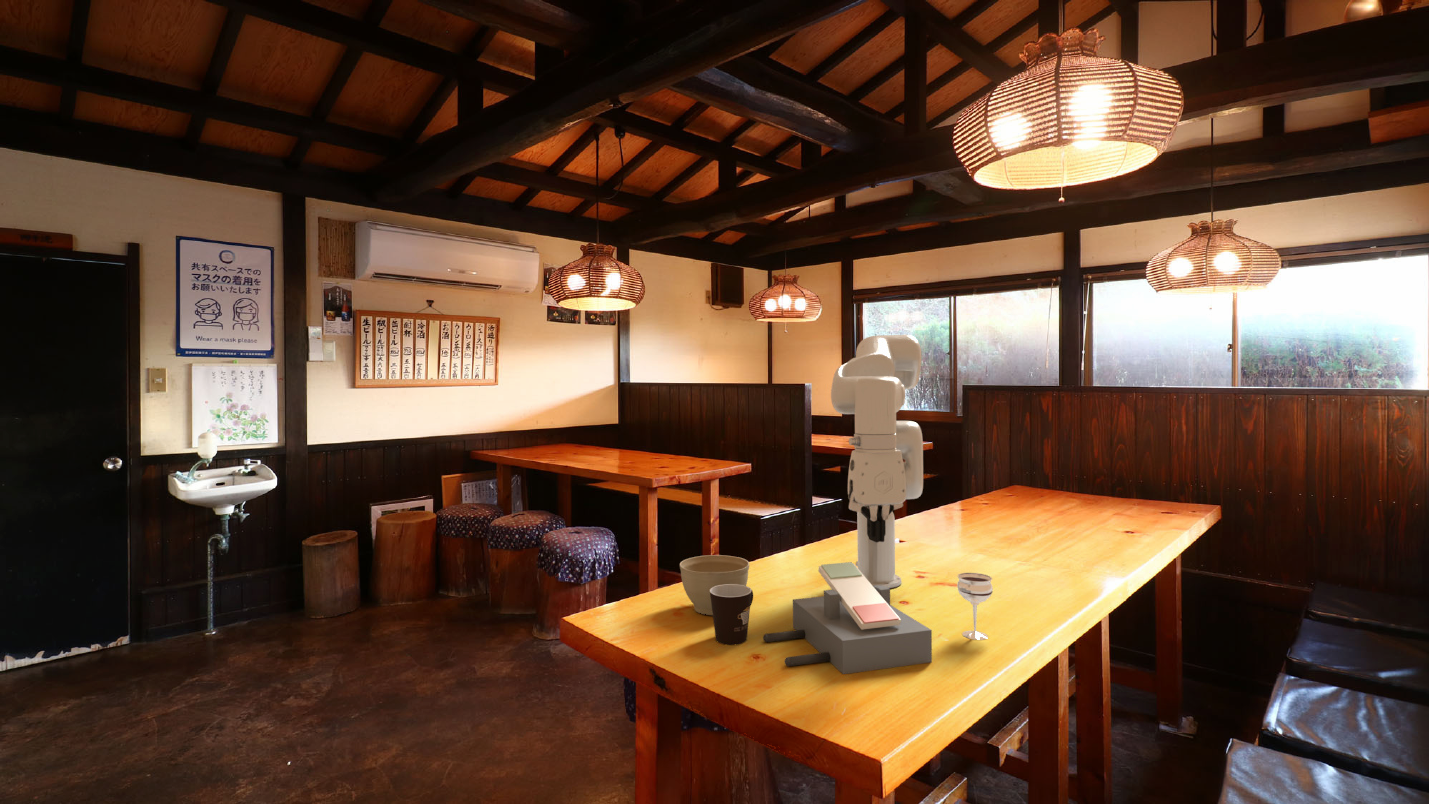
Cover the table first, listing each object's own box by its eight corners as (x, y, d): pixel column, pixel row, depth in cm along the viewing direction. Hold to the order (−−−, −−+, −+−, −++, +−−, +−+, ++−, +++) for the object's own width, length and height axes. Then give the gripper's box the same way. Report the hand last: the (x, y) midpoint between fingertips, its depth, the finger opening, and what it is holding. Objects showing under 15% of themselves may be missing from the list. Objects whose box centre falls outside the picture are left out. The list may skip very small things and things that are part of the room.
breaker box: (754, 631, 138) (753, 580, 137) (869, 618, 144) (868, 570, 144) (797, 680, 114) (796, 619, 114) (931, 662, 121) (931, 604, 121)
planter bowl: (764, 610, 151) (763, 563, 151) (709, 627, 141) (708, 577, 140) (720, 594, 163) (719, 550, 163) (666, 608, 153) (666, 562, 153)
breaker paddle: (817, 572, 139) (818, 564, 138) (853, 568, 141) (854, 561, 140) (860, 630, 120) (861, 622, 120) (900, 625, 122) (902, 618, 122)
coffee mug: (722, 650, 128) (722, 599, 128) (703, 635, 136) (702, 588, 136) (772, 639, 133) (772, 590, 133) (751, 625, 141) (750, 579, 141)
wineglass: (959, 627, 139) (959, 571, 138) (994, 632, 136) (994, 574, 135) (955, 638, 133) (954, 579, 132) (991, 643, 129) (991, 583, 129)
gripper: (848, 446, 117) (849, 548, 117) (922, 443, 120) (922, 542, 121) (830, 443, 124) (831, 539, 124) (900, 440, 128) (901, 533, 128)
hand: (876, 540), depth 123 cm, fingers closed
